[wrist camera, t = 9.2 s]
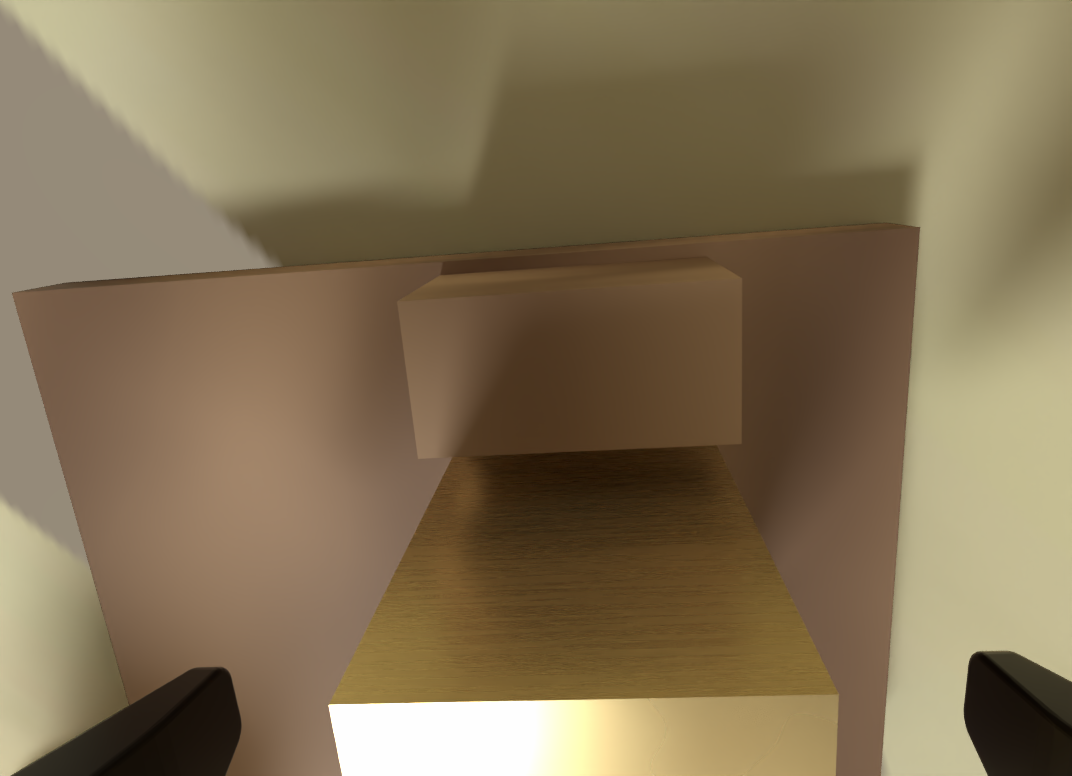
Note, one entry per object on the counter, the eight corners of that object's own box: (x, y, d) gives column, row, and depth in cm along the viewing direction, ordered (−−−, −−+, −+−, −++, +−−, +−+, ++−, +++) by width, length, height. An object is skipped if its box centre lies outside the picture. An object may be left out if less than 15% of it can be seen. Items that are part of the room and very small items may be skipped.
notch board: (885, 222, 11) (1024, 241, 8) (855, 737, 14) (947, 928, 10) (64, 282, 12) (-145, 322, 9) (186, 743, 15) (62, 915, 12)
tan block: (712, 645, 12) (824, 1060, 6) (485, 652, 12) (397, 1049, 7) (708, 429, 11) (839, 694, 5) (459, 442, 11) (328, 705, 6)
